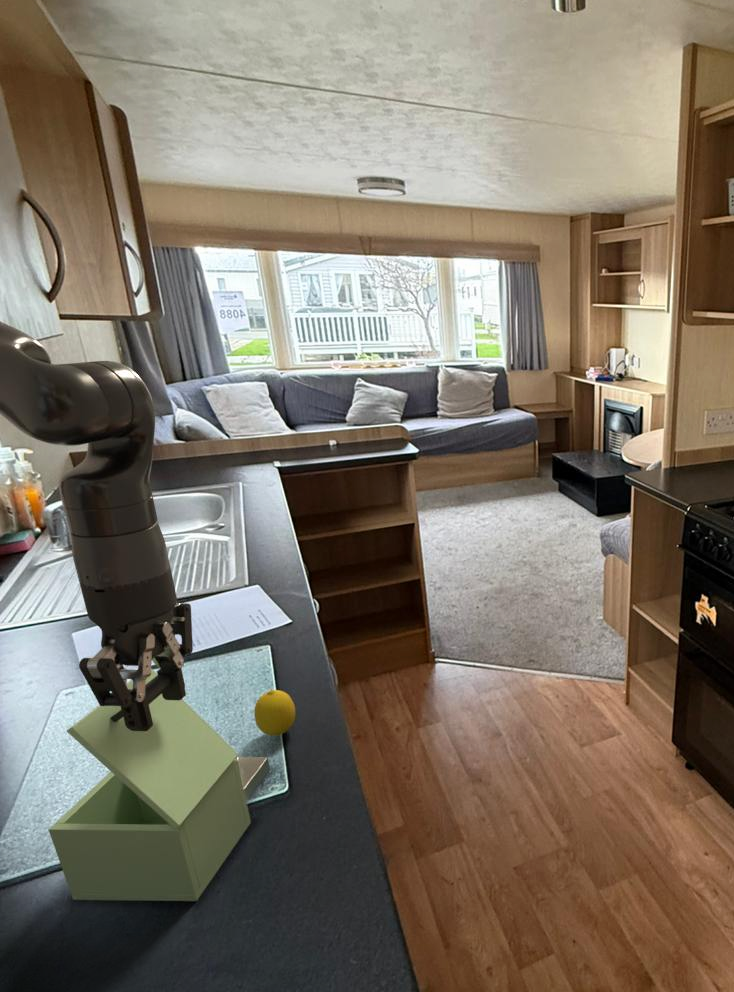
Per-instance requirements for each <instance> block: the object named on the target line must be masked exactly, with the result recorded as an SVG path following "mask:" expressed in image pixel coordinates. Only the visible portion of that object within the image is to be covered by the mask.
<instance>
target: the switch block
mask: <svg viewBox="0 0 734 992" xmlns="http://www.w3.org/2000/svg"><path fill="white" fill-rule="evenodd" d="M235 759H237V761H238V766H239V770H240V775H241V780H242V784H243V789H244V793H245V798H246V802H247V803H248V801H249V800H250V799H251V797H252V796H253V794H254V793H255V792H256V791H257V790H258V787H259V786H260V785H261V784H262V782H263V781H264V780H265V778H266V777H267V775H268V774H269V773H270V771H271V767H270V762H269V757H266V756H265V757H261V756H255V757H253V756H251V757H250V756H239V754H238V755H237V757H236V758H235Z"/></svg>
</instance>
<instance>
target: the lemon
mask: <svg viewBox="0 0 734 992" xmlns="http://www.w3.org/2000/svg"><path fill="white" fill-rule="evenodd" d="M254 720H255V724H256V726H257V728H258V729H259V730H260V732H262V733H264V734H265V735H267V736H271V737H272V736H277V737H281V736H282V735H283V734H284V733H286V732H288V731H289V730H290V729H291V728H292V726H293V725H294V722H295V720H296V706H295V703H294V701H293V700H292V697H291V696H290V695H289V694H288V693H286V692H285V691H283V690H279V689H269V690H268V691H267V692H265V693H263V694H261V696H260V697H259V698H258V699H257V700H256V703H255V706H254Z"/></svg>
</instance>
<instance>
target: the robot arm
mask: <svg viewBox="0 0 734 992" xmlns="http://www.w3.org/2000/svg"><path fill="white" fill-rule="evenodd" d="M0 415H1V416H2V417H3V418H4V419H5V420H7V421H8V422H9V423H10V424H11V425H13V426H14V427H15V428H16V429H18V430H19V431H21V432H22V433H23V434H25V435H27V436H28V437H30V438H32V439H34V440H36V441H40V442H42V443H46V444H50V445H55V446H60V447H75V446H81V445H86V444H87V450H86V455H85V457H84V459H83V460H82V461H81V462H80V463H79V464H78V465H76V466H75V467H73V468H71V469H69V470H68V471H66V472H65V473H64V474H63V475H62V476H61V477H60V479H59V483H58V489H59V494H60V500H61V503H62V507H63V511H64V515H65V520H66V523H67V526H68V527H67V528H68V530H69V534H70V541H71V543H70V544H71V553H72V560H73V563H74V567H75V571H76V574H77V578H78V583H79V586H80V591H81V594H82V599H83V602H84V605H85V610H86V613H87V617H88V619H89V620H90V621H91V622H92V623H93V624H95V626H97V627H99V629H100V631H101V641H100V647H101V649H99V651H98V652H97V653H96V654H95V655H94V656H92V657H82V658H81V659H80V661H79V663H78V668H79V670H80V672H81V673H82V675H83V677H84V680H85V681H86V683H87V684H88V686H89V689H90V690H91V692H92V694H93V695H94V697H95V699H96V701H97V703H98V706H99V705H100V706H121V710H122V714H123V717H124V721H125V726H126V727H127V728H128V729H130V730H131V731H148V730H149V729H150V728H151V727H152V726H153V721H152V717H151V713H150V708H149V704H148V700H147V697H145V686H146V678H148V677H149V676H150V675H151V669H152V662H153V663H154V665H155V667H156V668H159V669H158V670H157V671H156V674H157V675H159V674H164V675H167V676H168V677H169V678H170V679H171V686H170V687H169V688H168V689H166V690H165V691H164V692H163V693H162V696H163V698H164V699H165V700H181V699H184V698H185V697H186V695H187V693H186V683H185V678H184V674H183V670H182V668H183V667H184V665H185V657H186V656H190V655H192V653H193V649H194V645H193V644H194V643H193V624H192V623H193V622H192V605H191V604H190V603H187V602H186V603H185V602H184V603H183V602H181V603H180V602H178V596H177V592H176V586H175V581H174V578H173V572H172V569H171V563H170V557H169V554H168V548H167V544H166V540H165V537H164V535H163V532H162V529H161V527H160V523H159V519H158V516H157V511H156V510H157V509H156V506H155V501H154V500H155V499H154V496H153V492H152V487H151V483H150V480H151V472H152V465H153V456H154V445H155V444H154V443H155V432H156V410H155V405H154V401H153V397H152V394H151V392H150V391H149V389H148V387H147V385H146V384H145V382H144V380H143V379H142V378H141V376H139V374H138V373H137V372H136V371H134V370H133V369H131V368H130V367H129V366H127V365H125V364H122V363H120V362H117V361H110V360H95V361H83V362H72V363H58V364H53V363H52V359H51V356H50V354H49V353H48V351H47V349H46V348H45V347H44V345H43V344H41V343H40V342H39V341H38V340H37V339H35V338H34V337H32V336H31V335H29V334H28V333H25V332H24V331H22V330H20V329H18V328H15V327H13V326H11V325H9V324H7V323H5V322H3V321H0ZM177 635H178V636H180V637H181V643H180V642H179V641H178V639H177V638H176V636H177ZM124 666H125V667H132V666H133V667H137V669H127V668H125V667H124ZM128 680H133V689H128V688H127V686H126V685H127V683H128V682H127V681H128Z"/></svg>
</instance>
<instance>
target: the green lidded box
mask: <svg viewBox="0 0 734 992" xmlns="http://www.w3.org/2000/svg"><path fill="white" fill-rule="evenodd" d="M248 807H249V806H248V801H247V802H246V798H245V793H244V789H243V784H242V780H241V775H240V770H239V766H238V761H237V759H234V760H233V762H232V763H231V764H230V765H229V766H228V768H227V769H226V770H225V771H224V772H223V774H222V775H221V776H220V777H219V778H218V780H217V781H216V782H215V783H214V785H213V786H212V787H211V788H210V789H209V791H208V792H207V793H206V794H205V795H204V797H203V798H202V799H201V800H200V801H199V803H198V804H197V805H196V806H195V808H194V809H193V810H192V811H191V812H190V814H189V815H188V816H187V817H186V818H185V820H184V821H183V822H182V823H181V825H180V826H178V827H176V828H173V827H172V826H171V825H170V824H169V823H168V822H167V821H165V820H164V819H163V818H162V817H161V816H160V815H159V814H158V813H157V812H155V811H154V810H153V809H152V808H151V807H150V806H149V805H148V804H147V803H145V802H144V801H143V800H142V799H141V798H140V797H139V796H138V795H137V794H135V793H134V792H133V791H132V790H131V789H130V788H129V787H128V786H127V785H125V784H124V783H123V782H122V781H121V780H120V779H119V778H118V777H117V776H115V775H114V774H113V773H112V772H111V771H110V772H109V773H107V774H106V775H105V776H104V777H103V778H102V779H101V780H100V781H99V782H98V783H97V784H95V785H94V787H92V788H91V789H90V790H89V791H88V792H87V793H86V794H85V795H83V797H82V798H80V799H79V800H78V801H77V802H76V803H75V804H74V805H73V806H72V807H71V808H70V809H69V810H68V811H67V812H66V813H64V814H63V815H62V816H61V817H60V818H59V819H58V820H57V821H56V822H55V823H53V825H52V826H51V827H49V828H48V832H49V835H50V839H51V841H52V844H53V847H54V849H55V852H56V856H57V858H58V861H59V864H60V867H61V870H62V872H63V875H64V878H65V881H66V884H67V886H68V888H69V892H70V895H71V897H72V900H73V901H141V902H142V901H143V902H144V901H145V902H146V901H149V902H153V901H154V902H155V901H156V902H197V901H198V900H199V898H200V897H201V896H202V894H203V893H204V891H205V890H206V889H207V887H208V886H209V884H210V883H211V881H212V880H213V878H214V877H215V875H216V874H217V873H218V871H219V870H220V868H221V867H222V866H223V864H224V862H225V861H226V859H227V858H228V856H229V855H230V854H231V852H232V851H233V849H234V848H235V846H236V845H237V844H238V842H239V841H240V840H241V838H242V836H243V835H244V834H245V832H246V831H247V829H248V828H249V826H251V824H252V821H251V817H250V812H249V808H248Z"/></svg>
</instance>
